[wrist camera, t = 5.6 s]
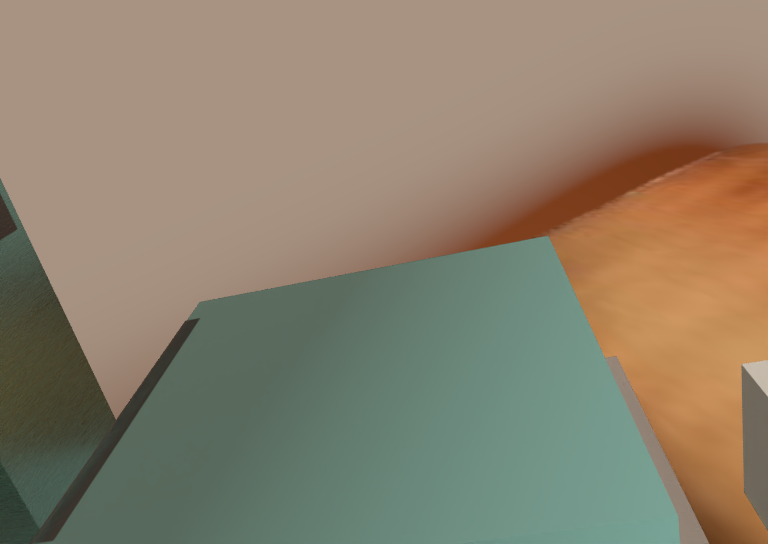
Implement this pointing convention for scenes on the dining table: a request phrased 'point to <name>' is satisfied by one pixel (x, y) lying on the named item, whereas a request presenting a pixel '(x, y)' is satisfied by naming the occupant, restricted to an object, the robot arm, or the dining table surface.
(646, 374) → the dining table surface
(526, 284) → the mint green block
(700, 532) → the grey base with post
